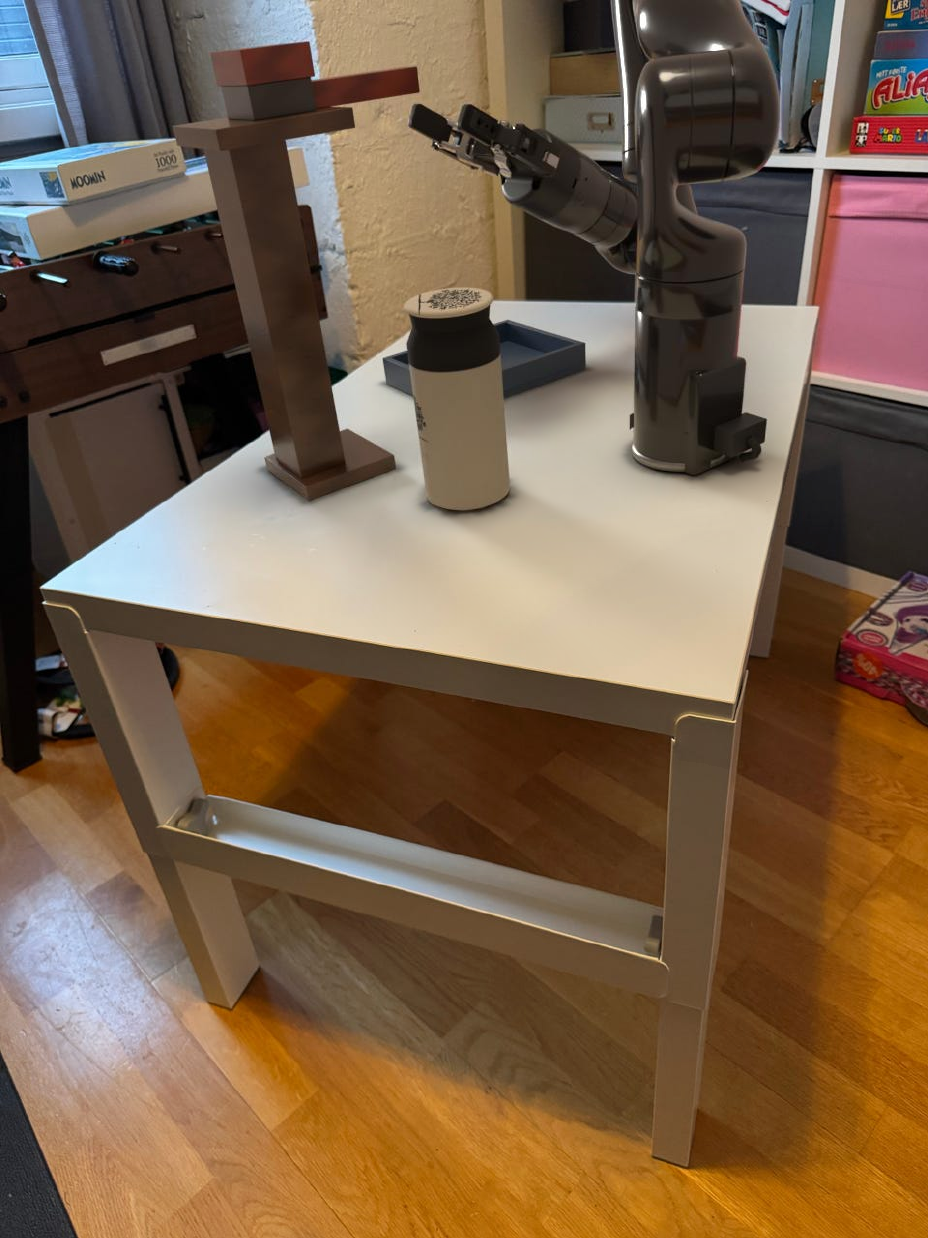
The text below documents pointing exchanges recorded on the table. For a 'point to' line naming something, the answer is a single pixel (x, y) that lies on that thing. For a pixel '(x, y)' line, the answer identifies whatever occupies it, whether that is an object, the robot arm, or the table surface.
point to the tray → (513, 359)
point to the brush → (296, 82)
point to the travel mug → (458, 397)
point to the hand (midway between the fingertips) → (435, 114)
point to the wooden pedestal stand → (282, 296)
